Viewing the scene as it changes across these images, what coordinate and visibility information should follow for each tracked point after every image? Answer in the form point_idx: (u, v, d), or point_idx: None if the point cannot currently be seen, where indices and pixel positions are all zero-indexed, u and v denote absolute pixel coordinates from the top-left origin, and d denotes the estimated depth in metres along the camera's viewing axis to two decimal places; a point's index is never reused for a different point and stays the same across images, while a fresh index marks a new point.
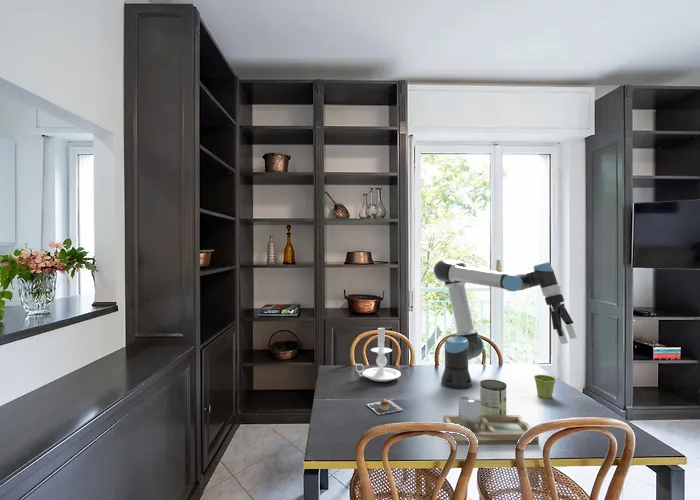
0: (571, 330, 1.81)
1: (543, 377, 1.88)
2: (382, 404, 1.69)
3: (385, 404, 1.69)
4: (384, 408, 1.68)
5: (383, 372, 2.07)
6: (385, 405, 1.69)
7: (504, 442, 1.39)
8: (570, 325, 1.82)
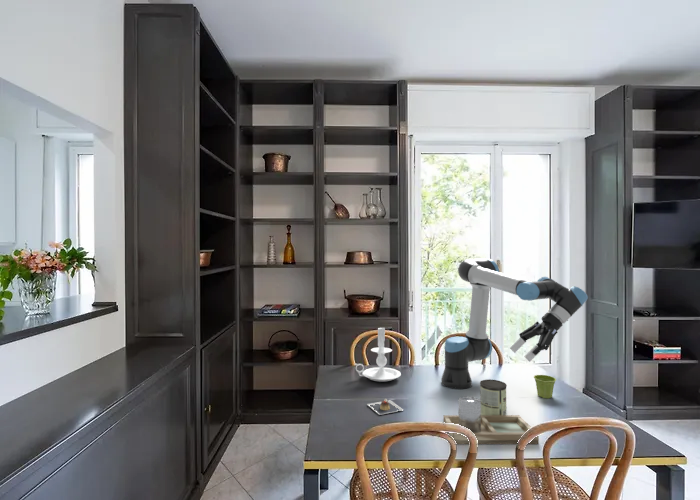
0: (519, 345, 1.67)
1: (543, 377, 1.88)
2: (383, 404, 1.69)
3: (386, 404, 1.69)
4: (385, 408, 1.68)
5: (383, 372, 2.07)
6: (386, 405, 1.68)
7: (504, 442, 1.39)
8: (523, 342, 1.67)
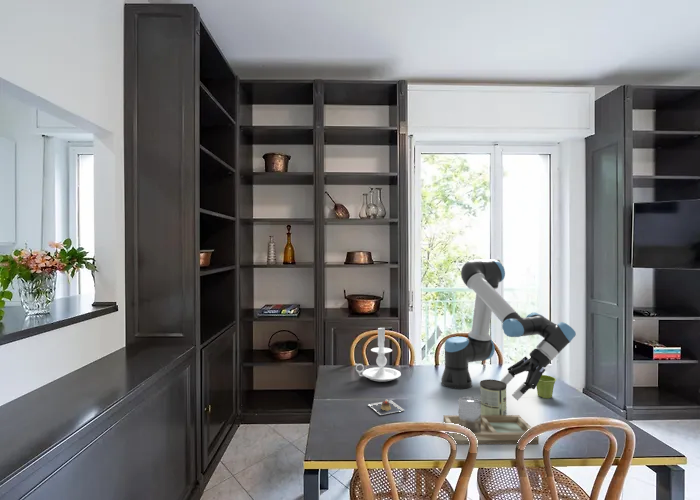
0: (507, 380, 1.66)
1: (543, 377, 1.88)
2: (384, 404, 1.69)
3: (387, 404, 1.68)
4: (386, 408, 1.68)
5: (383, 372, 2.07)
6: (387, 405, 1.68)
7: (504, 442, 1.39)
8: (512, 377, 1.66)
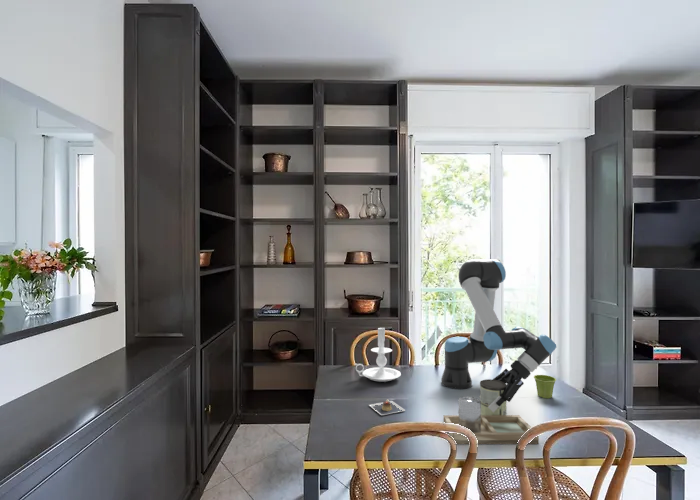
0: None
1: (543, 377, 1.88)
2: (384, 405, 1.68)
3: (387, 405, 1.68)
4: (386, 409, 1.68)
5: (383, 372, 2.07)
6: (387, 406, 1.68)
7: (504, 442, 1.39)
8: None
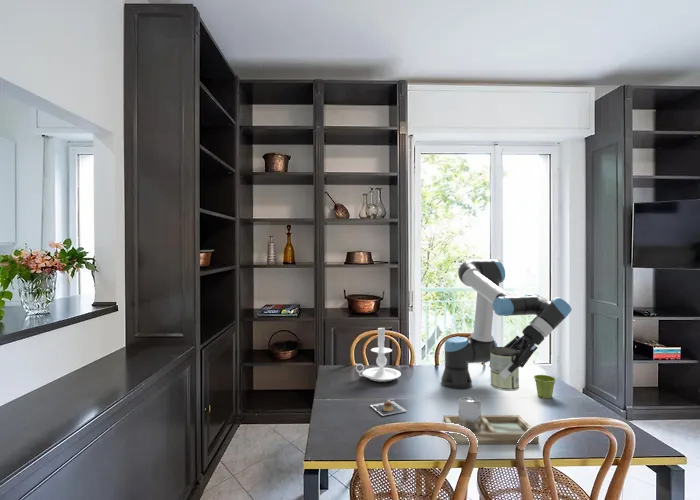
0: None
1: (543, 377, 1.88)
2: (386, 405, 1.68)
3: (389, 405, 1.68)
4: (388, 409, 1.67)
5: (383, 372, 2.07)
6: (389, 406, 1.67)
7: (504, 442, 1.39)
8: None
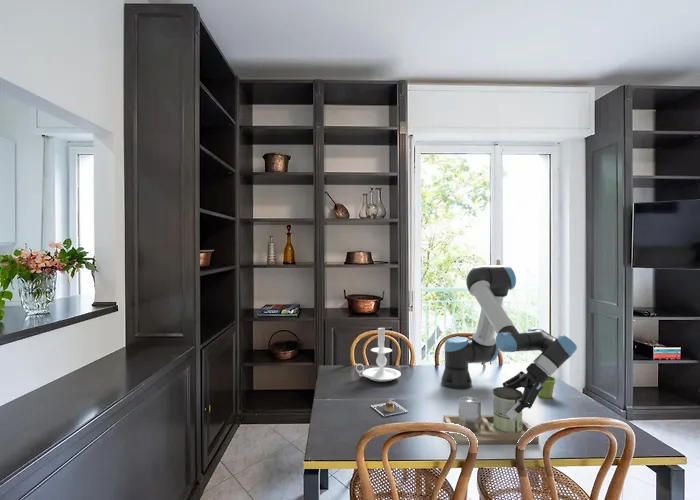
0: None
1: None
2: (387, 406, 1.67)
3: (390, 406, 1.67)
4: (389, 410, 1.67)
5: (383, 372, 2.07)
6: (390, 407, 1.67)
7: (504, 442, 1.39)
8: None
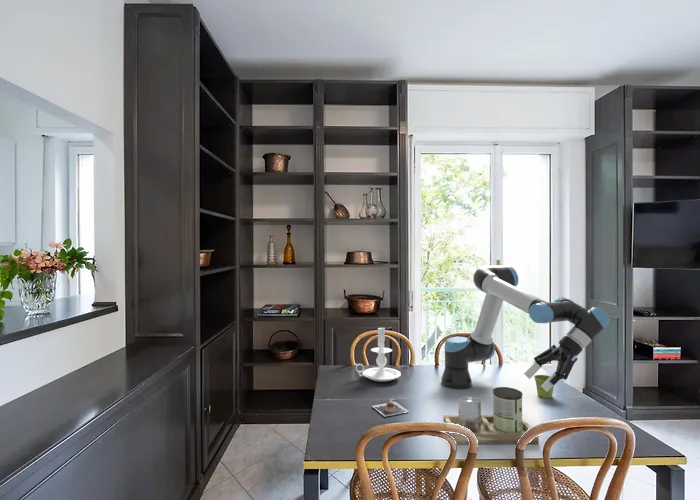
0: (534, 371, 1.53)
1: (543, 377, 1.88)
2: (388, 406, 1.67)
3: (391, 406, 1.67)
4: (390, 410, 1.66)
5: (383, 372, 2.07)
6: (391, 407, 1.67)
7: (504, 442, 1.39)
8: (539, 367, 1.53)
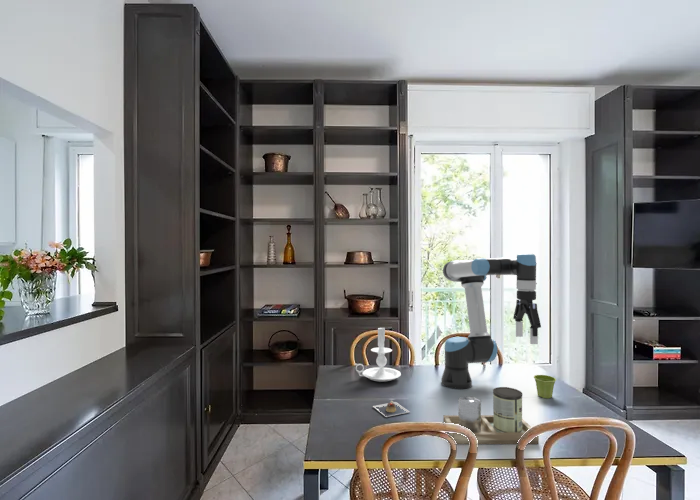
0: (520, 328, 1.72)
1: (543, 377, 1.88)
2: (389, 406, 1.67)
3: (392, 406, 1.66)
4: (391, 410, 1.66)
5: (383, 372, 2.07)
6: (392, 407, 1.66)
7: (504, 442, 1.39)
8: (521, 323, 1.72)
